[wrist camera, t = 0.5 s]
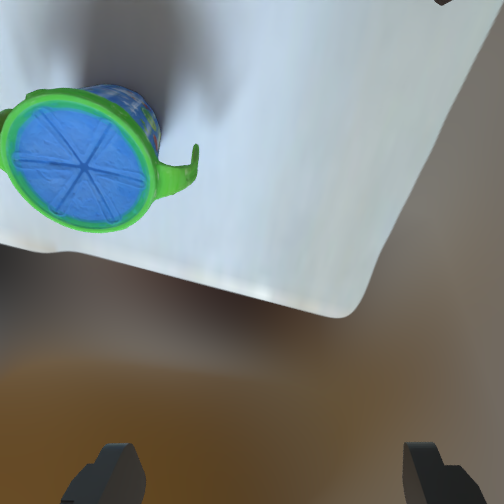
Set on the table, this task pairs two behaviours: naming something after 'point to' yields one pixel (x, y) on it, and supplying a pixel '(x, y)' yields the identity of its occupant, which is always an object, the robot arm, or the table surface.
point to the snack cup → (88, 156)
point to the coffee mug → (442, 2)
